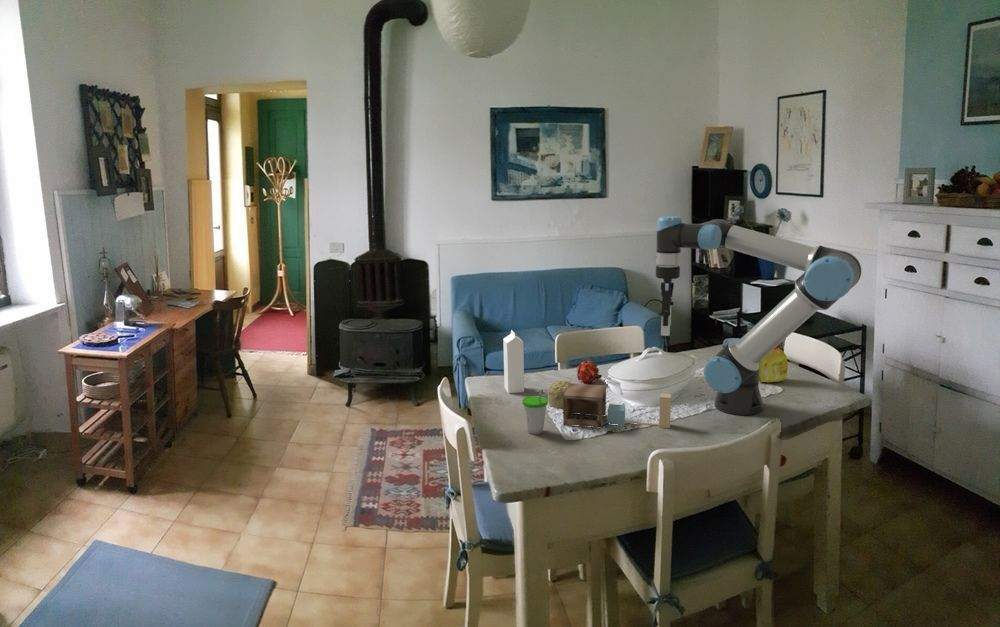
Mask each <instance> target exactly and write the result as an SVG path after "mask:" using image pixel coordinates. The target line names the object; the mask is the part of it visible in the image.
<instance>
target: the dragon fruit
mask: <svg viewBox="0 0 1000 627" xmlns="http://www.w3.org/2000/svg"><path fill="white" fill-rule="evenodd" d="M576 369H577V370H576V372H577V373H576V374H577V375H576V376H577V380H578V381H581V382H582V383H583V384H587V385H590V383H592V384H593V383H595V382H596V380H599V379H601V378H602V377H603V376H602V374H600V370H599V368H598V364H597V363H596V362H595V363H594V362H592V361H591V360H584V361H582V362H581V363H580V364H578V366H577V367H576Z"/></svg>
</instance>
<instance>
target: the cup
mask: <svg viewBox="0 0 1000 627" xmlns="http://www.w3.org/2000/svg"><path fill="white" fill-rule="evenodd" d="M539 391H540V392H538V395H530V396H527V397H524V398H523V399H522V401H521V404H522V405H523V407H524V414H525V421H526V428H527V432H528V434H530V435H536V436H537V435H541V434H543V432H544V427H545V426H544V425H545V418H546V411H547V405H549V404H548V402H549V401H548V398H547V397H544V396H541V395H542V393H544V389H541V390H539Z"/></svg>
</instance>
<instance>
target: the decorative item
mask: <svg viewBox="0 0 1000 627" xmlns="http://www.w3.org/2000/svg"><path fill="white" fill-rule="evenodd" d="M569 383H571V382H569V381H566V380H565V381H564V380H558V381H554V382H553V383H551V384H550V385H549V387H548V390H547V400H548V404H547V405H549V406H550V407H553V408H554V409H555V408H556V409H563V395H564V393H565V391H566V389H567V387H568V385H569Z"/></svg>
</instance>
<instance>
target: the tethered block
mask: <svg viewBox="0 0 1000 627" xmlns="http://www.w3.org/2000/svg"><path fill="white" fill-rule="evenodd" d="M671 407H672V393H660V395H659V420H658V421H659V422H648V421H647V422H645V421H633V420H626V405H624V404H614V403H610V404H609V405H608V407H607V414H606V415H607V416H606V417H607V422H606V424H607V423H608V424H609V423H610V424H618V425H617V426H619V425H625V424H627V423H637V424H636V425H641V424H646V426H654V427H655V426H657V427H659V428H661V429H670V428H671V413H672V412H671V410H672V409H671Z"/></svg>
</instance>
